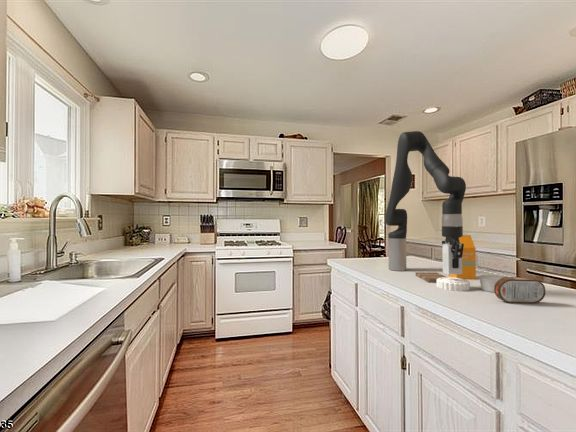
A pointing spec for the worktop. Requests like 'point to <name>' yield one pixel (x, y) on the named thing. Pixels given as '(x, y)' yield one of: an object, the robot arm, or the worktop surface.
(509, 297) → the tin
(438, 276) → the walnut board
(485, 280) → the ramekin
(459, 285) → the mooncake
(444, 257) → the skincare box
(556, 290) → the worktop surface
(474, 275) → the orange juice
